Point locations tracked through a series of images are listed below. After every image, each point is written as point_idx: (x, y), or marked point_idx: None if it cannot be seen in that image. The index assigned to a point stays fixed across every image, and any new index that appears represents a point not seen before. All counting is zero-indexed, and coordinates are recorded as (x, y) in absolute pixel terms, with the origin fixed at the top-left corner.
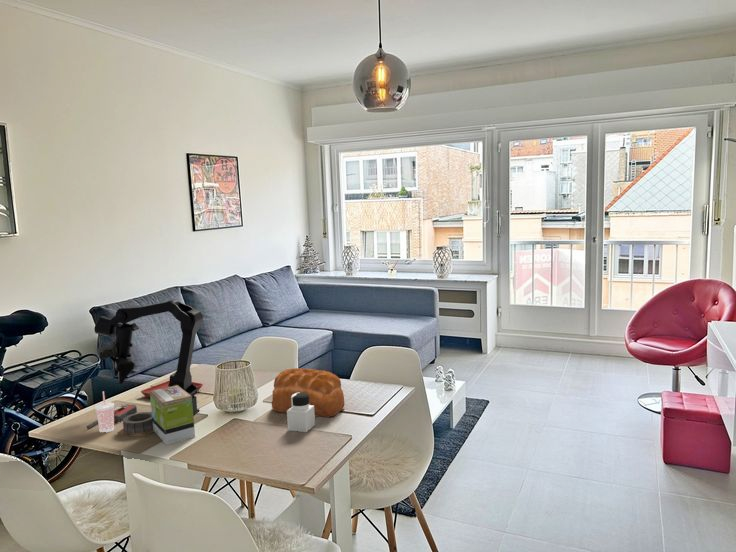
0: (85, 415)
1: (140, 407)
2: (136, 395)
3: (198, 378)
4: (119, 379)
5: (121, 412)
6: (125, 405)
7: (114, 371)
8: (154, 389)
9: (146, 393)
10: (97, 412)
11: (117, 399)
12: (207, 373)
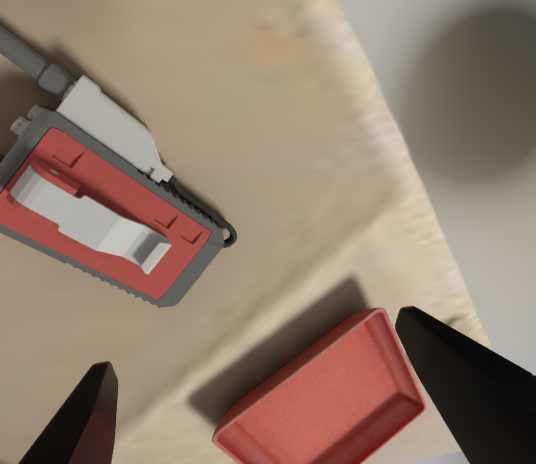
0: (268, 13)
1: (228, 300)
2: (398, 274)
3: (416, 441)
4: (39, 439)
5: (44, 234)
6: (142, 264)
7: (427, 333)
8: (387, 346)
9: (344, 331)
10: None
11: (404, 201)
12: (438, 453)
